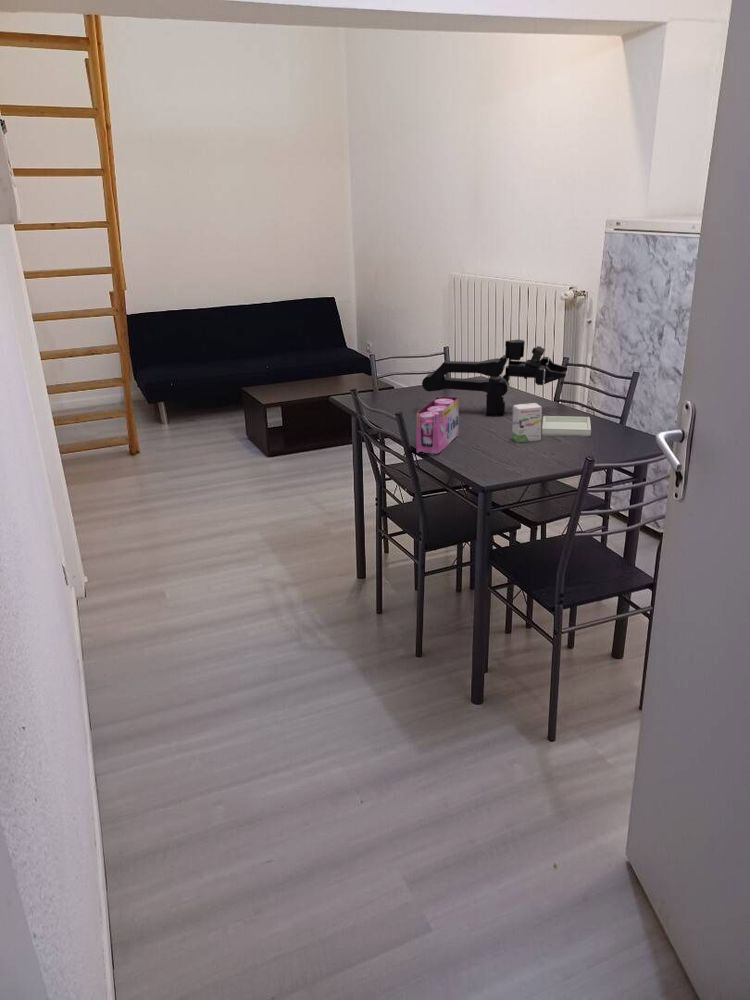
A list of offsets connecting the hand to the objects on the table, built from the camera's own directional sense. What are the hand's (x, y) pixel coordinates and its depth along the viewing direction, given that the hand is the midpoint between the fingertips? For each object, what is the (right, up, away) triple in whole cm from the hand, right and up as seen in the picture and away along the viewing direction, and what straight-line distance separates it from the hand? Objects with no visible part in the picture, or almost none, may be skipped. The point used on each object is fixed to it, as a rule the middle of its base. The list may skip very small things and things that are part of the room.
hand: (566, 372), depth 272 cm
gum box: (-48, -27, -18) cm, 58 cm away
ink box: (-18, -26, -18) cm, 36 cm away
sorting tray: (-2, -21, -9) cm, 23 cm away
